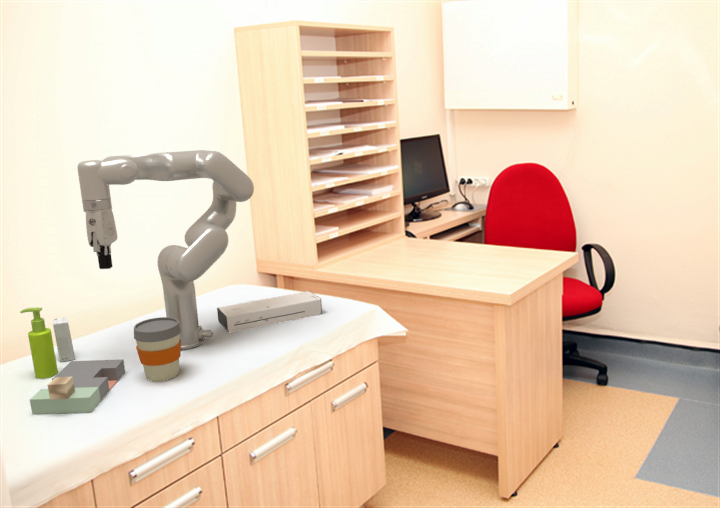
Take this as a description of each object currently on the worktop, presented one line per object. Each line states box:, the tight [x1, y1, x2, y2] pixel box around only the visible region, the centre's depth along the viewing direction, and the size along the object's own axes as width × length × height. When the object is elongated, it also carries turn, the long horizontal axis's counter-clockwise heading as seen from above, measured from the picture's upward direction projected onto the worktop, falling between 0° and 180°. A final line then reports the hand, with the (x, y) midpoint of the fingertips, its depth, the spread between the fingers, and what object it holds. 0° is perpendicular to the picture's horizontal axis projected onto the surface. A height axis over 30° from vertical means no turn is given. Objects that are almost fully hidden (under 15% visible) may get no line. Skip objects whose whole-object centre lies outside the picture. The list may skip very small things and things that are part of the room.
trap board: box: [29, 358, 126, 415], centre depth 176 cm, size 15×24×4 cm, turn 0°
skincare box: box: [52, 316, 76, 363], centre depth 199 cm, size 6×4×12 cm
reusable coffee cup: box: [133, 316, 182, 382], centre depth 183 cm, size 13×12×15 cm
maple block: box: [47, 376, 75, 400], centre depth 165 cm, size 4×4×4 cm
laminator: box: [216, 290, 323, 333], centre depth 227 cm, size 34×12×6 cm, turn 117°
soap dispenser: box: [19, 307, 59, 380], centre depth 186 cm, size 6×7×20 cm
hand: (106, 268), depth 188 cm, fingers closed
